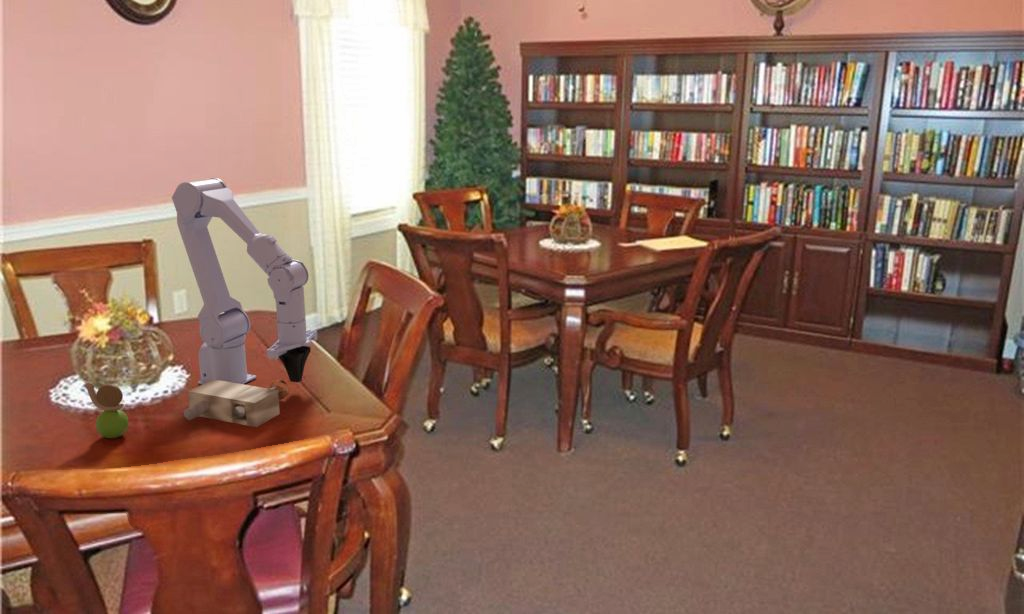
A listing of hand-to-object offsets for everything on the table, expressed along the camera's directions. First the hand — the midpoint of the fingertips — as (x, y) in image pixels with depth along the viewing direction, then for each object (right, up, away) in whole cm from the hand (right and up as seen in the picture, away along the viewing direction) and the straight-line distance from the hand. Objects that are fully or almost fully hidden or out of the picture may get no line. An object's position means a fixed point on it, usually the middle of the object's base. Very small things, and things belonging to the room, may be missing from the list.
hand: (295, 380), depth 165 cm
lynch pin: (-4, -5, -10) cm, 12 cm away
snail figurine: (-28, -9, -21) cm, 36 cm away
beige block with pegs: (-10, -6, -13) cm, 17 cm away
